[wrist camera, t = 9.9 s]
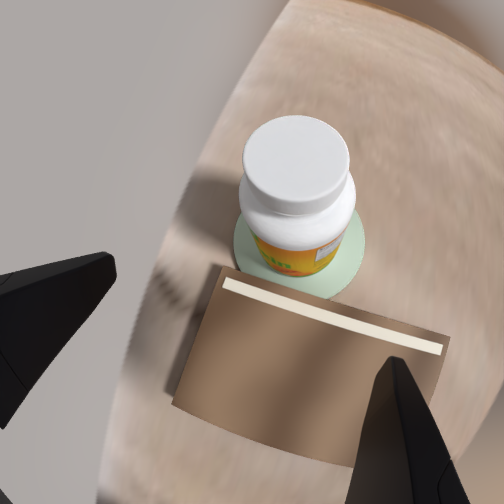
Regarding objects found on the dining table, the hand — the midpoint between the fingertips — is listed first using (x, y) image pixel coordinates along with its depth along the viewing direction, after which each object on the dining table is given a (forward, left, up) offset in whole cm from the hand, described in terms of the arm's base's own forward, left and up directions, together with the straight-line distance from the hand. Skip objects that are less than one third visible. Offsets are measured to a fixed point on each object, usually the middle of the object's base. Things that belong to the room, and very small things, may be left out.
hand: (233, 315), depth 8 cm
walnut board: (-4, -3, -11) cm, 12 cm away
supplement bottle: (+6, -2, -11) cm, 12 cm away
